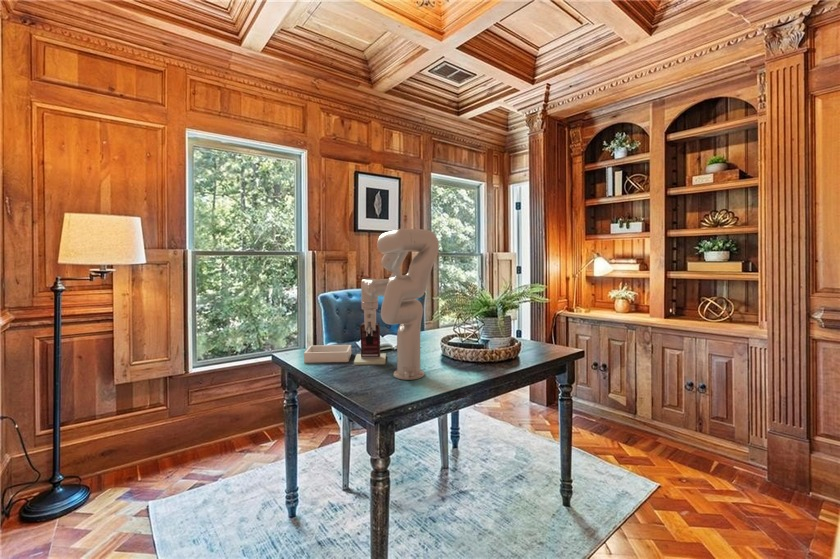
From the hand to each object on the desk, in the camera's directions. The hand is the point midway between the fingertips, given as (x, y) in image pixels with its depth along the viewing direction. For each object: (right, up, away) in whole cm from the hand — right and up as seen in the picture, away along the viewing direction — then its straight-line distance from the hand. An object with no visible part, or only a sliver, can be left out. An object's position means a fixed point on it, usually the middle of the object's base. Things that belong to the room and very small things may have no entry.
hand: (370, 342), depth 189 cm
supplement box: (0, -8, +1) cm, 7 cm away
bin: (-20, -8, +4) cm, 22 cm away
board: (0, -9, +1) cm, 8 cm away
